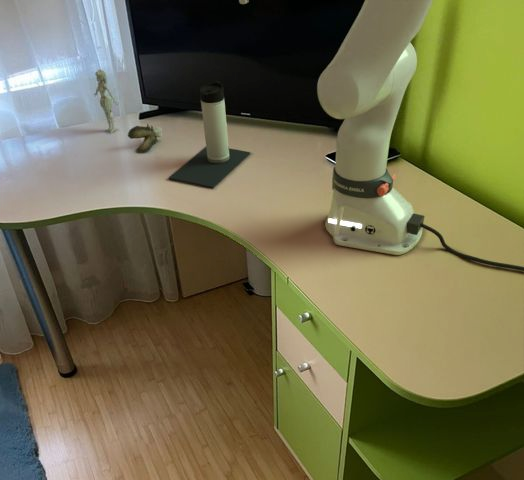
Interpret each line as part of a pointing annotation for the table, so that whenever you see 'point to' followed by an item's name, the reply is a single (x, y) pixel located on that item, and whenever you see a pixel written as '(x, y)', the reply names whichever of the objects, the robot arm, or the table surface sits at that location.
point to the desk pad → (208, 169)
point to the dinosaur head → (145, 136)
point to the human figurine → (105, 98)
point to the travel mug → (215, 122)
